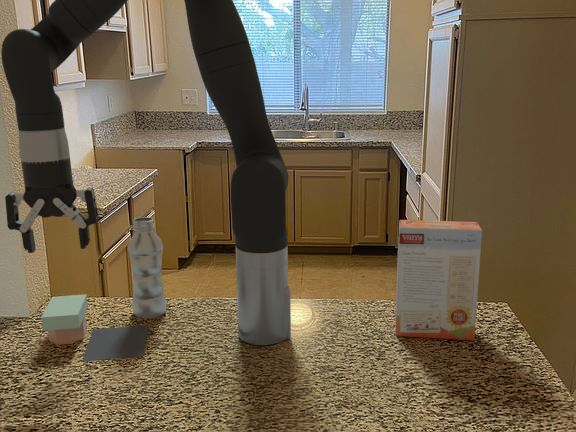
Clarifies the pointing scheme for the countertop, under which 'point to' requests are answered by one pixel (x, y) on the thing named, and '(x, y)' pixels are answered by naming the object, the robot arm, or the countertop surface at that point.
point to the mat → (116, 343)
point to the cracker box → (437, 279)
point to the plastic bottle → (146, 270)
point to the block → (64, 312)
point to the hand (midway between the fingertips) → (58, 249)
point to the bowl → (68, 334)
